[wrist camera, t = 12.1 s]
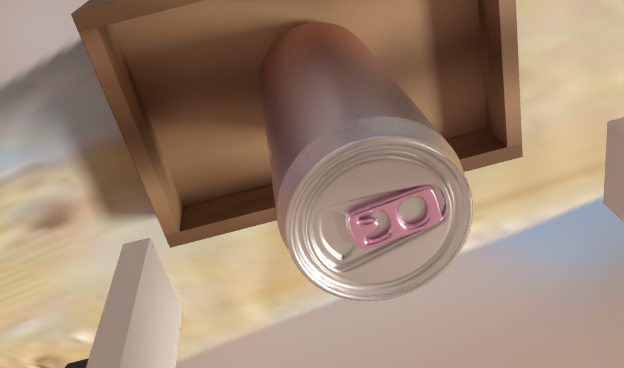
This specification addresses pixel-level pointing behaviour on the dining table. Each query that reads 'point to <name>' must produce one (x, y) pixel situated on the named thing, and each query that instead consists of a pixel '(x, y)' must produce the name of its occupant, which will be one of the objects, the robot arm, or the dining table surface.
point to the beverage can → (357, 169)
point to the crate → (247, 97)
